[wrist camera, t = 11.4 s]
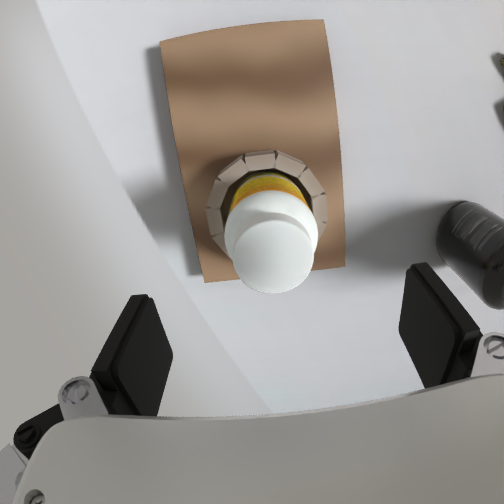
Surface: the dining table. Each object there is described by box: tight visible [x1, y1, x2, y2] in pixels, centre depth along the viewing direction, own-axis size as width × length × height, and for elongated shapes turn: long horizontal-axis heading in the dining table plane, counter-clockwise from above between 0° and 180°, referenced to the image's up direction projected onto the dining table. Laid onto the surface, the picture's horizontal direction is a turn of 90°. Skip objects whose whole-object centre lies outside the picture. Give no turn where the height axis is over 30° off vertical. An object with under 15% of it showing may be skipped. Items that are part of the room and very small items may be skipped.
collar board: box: [160, 20, 345, 283], centre depth 23 cm, size 20×12×4 cm, turn 8°
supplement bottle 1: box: [224, 171, 318, 293], centre depth 20 cm, size 5×5×10 cm
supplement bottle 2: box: [437, 202, 504, 310], centre depth 21 cm, size 7×7×12 cm
